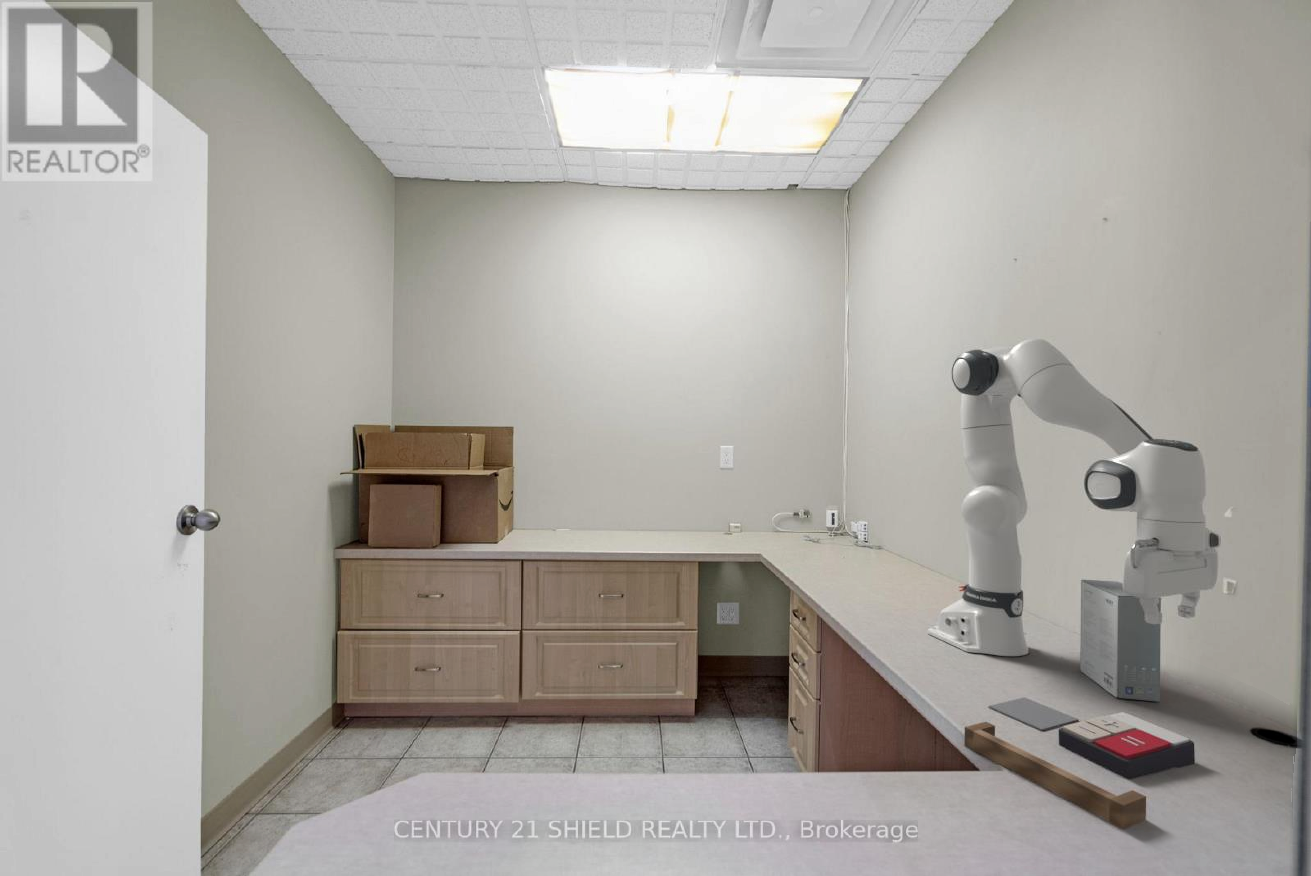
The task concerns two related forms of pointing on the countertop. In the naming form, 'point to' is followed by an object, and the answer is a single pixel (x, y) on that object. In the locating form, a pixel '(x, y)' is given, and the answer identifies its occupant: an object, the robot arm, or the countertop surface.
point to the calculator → (1127, 745)
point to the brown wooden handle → (1057, 778)
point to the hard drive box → (1119, 642)
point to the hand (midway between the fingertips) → (1170, 620)
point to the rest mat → (1033, 714)
